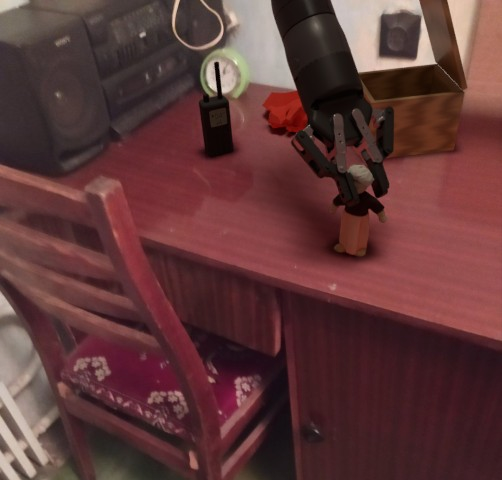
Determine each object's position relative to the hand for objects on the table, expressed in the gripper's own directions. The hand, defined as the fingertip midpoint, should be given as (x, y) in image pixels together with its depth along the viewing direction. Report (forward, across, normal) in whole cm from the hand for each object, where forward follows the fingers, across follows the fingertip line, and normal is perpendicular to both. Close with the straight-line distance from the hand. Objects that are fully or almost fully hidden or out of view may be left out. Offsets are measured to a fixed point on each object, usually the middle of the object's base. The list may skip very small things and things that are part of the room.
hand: (367, 199), depth 71 cm
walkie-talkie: (-21, +6, -34) cm, 40 cm away
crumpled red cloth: (-23, -10, -36) cm, 44 cm away
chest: (-12, -23, -25) cm, 36 cm away
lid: (-24, -27, -12) cm, 38 cm away
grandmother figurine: (+5, 0, -8) cm, 9 cm away
